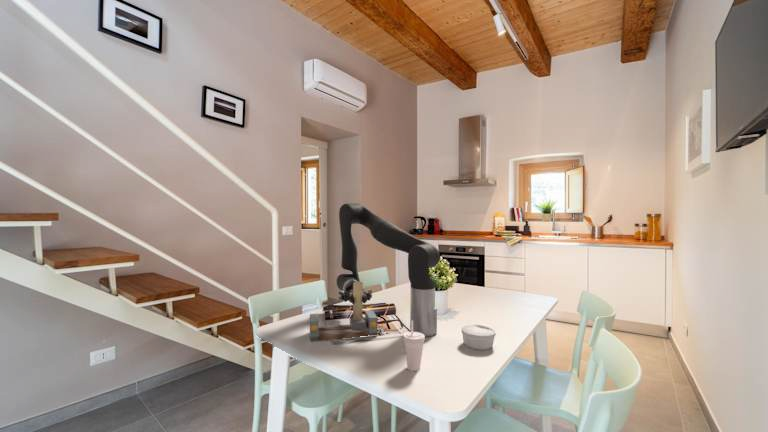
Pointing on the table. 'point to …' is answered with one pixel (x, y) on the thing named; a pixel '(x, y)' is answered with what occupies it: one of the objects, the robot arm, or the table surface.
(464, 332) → the ramekin
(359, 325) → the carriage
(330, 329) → the rail bed
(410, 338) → the smoothie
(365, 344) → the table surface
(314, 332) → the pair of sage blocks
